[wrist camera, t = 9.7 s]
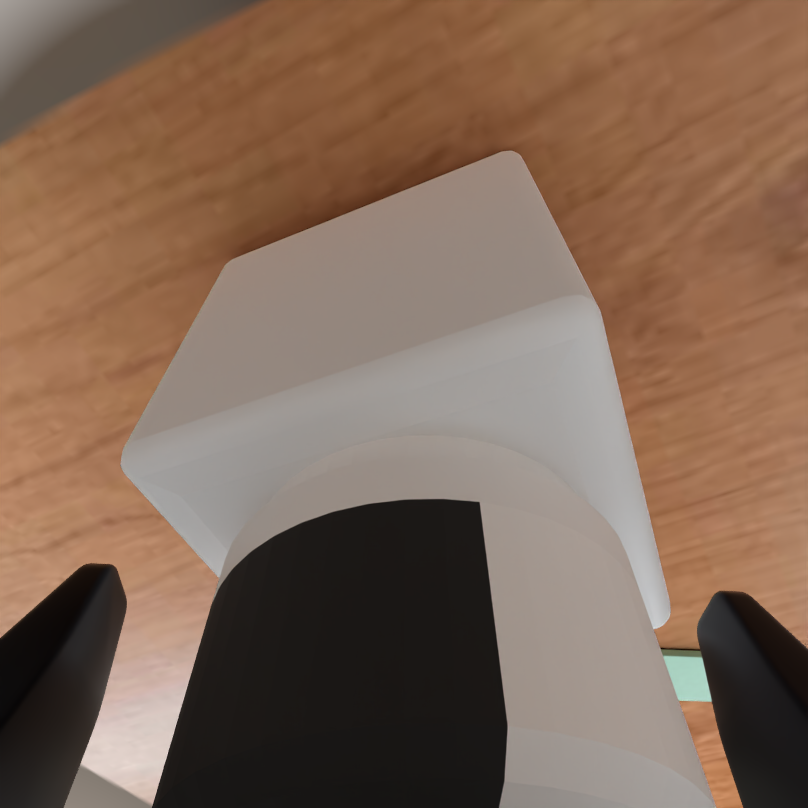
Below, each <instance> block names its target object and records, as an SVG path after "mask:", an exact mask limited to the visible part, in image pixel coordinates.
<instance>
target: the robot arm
mask: <svg viewBox="0 0 808 808" xmlns="http://www.w3.org/2000/svg"><path fill="white" fill-rule="evenodd" d="M126 608H127V600H126V595H125V592H124V589H123V586H122V583H121V580H120V577H119V574H118V571H117V569H116V567H115V566H113V565H111V564H94V563H90V564H86V565H83V566H82V567H80V568H79V569H78V570H77V571H75V572H74V573H73V574H72V575H71V576H70V577H69V578H68V579H66V580H65V581H64V582H63V583H62V584H61V585H60V586H59V587H57V588H56V589H55V590H54V591H53V592H52V593H51V594H49V595H48V596H47V597H46V598H45V599H44V600H43V601H42V602H40V603H39V604H38V605H37V606H36V607H35V608H34V609H33V610H31V611H30V612H29V613H28V614H27V615H26V616H25V617H24V618H22V619H21V620H20V621H19V622H18V623H17V624H16V625H15V626H13V627H12V628H11V629H10V630H9V631H8V632H7V633H5V634H4V635H3V636H2V637H1V638H0V808H64V805H65V802H66V800H67V797H68V795H69V792H70V789H71V787H72V784H73V781H74V779H75V776H76V774H77V771H78V768H79V766H80V763H81V761H82V758H83V755H84V753H85V750H86V748H87V745H88V742H89V740H90V737H91V734H92V732H93V729H94V726H95V723H96V720H97V718H98V715H99V711H100V708H101V704H102V701H103V697H104V694H105V690H106V686H107V682H108V678H109V675H110V671H111V667H112V663H113V659H114V656H115V652H116V648H117V644H118V641H119V637H120V633H121V629H122V625H123V622H124V618H125V614H126ZM697 636H698V641H699V646H700V650H701V655H702V659H703V664H704V668H705V673H706V677H707V682H708V686H709V691H710V695H711V700H712V704H713V709H714V713H715V718H716V722H717V726H718V730H719V734H720V738H721V741H722V744H723V747H724V751H725V754H726V757H727V760H728V763H729V766H730V769H731V772H732V775H733V778H734V781H735V784H736V787H737V790H738V793H739V796H740V799H741V802H742V805H743V808H808V649H807V648H806V647H805V646H804V645H803V644H802V643H801V642H800V641H799V640H798V639H796V638H795V637H794V636H793V635H792V634H791V633H790V632H789V631H788V630H787V629H786V628H785V627H783V626H782V625H781V624H780V623H779V622H778V621H777V620H776V619H775V618H774V617H773V616H772V615H771V614H769V613H768V612H767V611H766V610H765V609H764V608H763V607H762V606H761V605H760V604H759V603H758V602H757V601H755V600H754V599H753V598H752V597H751V596H749V595H748V594H746V593H744V592H736V591H719V592H717V593H716V594H715V595H714V596H713V597H712V599H711V601H710V603H709V604H708V606H707V608H706V609H705V611H704V613H703V615H702V616H701V618H700V620H699V622H698V626H697Z"/></svg>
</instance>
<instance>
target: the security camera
mask: <svg viewBox="0 0 808 808" xmlns="http://www.w3.org/2000/svg"><path fill="white" fill-rule="evenodd" d="M120 466H121V468H122V470H123V472H124V474H125V475H126V476H127V477H128V478H129V479H130V480H131V482H132V483H133V484H134V485H135V486H136V487H137V488H138V489H139V490H140V492H141V493H142V494H143V495H144V496H145V497H146V498H147V499H148V500H149V501H150V503H151V504H152V505H153V506H154V507H155V508H156V509H157V510H158V511H159V512H160V514H161V515H162V516H163V517H164V518H165V519H166V520H167V521H168V522H169V524H170V525H171V526H172V527H173V528H174V529H175V530H176V531H177V532H178V533H179V535H180V536H181V537H182V538H183V539H184V540H185V541H186V542H187V543H188V544H189V546H190V547H191V548H192V549H193V550H194V551H195V552H196V553H197V554H198V556H199V557H200V558H201V559H202V560H203V561H204V562H205V563H206V564H207V565H208V567H209V568H210V569H211V570H212V571H213V572H214V573H215V574H216V575H217V576H218V578H219V581H218V585H217V588H216V592H215V595H214V598H213V602H212V605H211V609H210V612H209V615H208V619H207V622H206V626H205V629H204V633H203V636H202V639H201V643H200V646H199V650H198V653H197V656H196V660H195V663H194V667H193V670H192V673H191V677H190V680H189V684H188V687H187V690H186V694H185V697H184V701H183V704H182V707H181V711H180V714H179V718H178V721H177V725H176V728H175V731H174V735H173V738H172V742H171V745H170V748H169V752H168V755H167V759H166V762H165V765H164V769H163V772H162V776H161V779H160V782H159V786H158V789H157V793H156V796H155V799H154V803H153V806H152V808H716V805H715V802H714V800H713V797H712V794H711V791H710V788H709V785H708V782H707V780H706V777H705V774H704V771H703V768H702V765H701V763H700V760H699V757H698V754H697V751H696V748H695V746H694V743H693V740H692V737H691V734H690V731H689V729H688V726H687V723H686V720H685V717H684V714H683V712H682V709H681V706H680V703H679V700H678V697H677V695H676V692H675V689H674V686H673V683H672V680H671V678H670V675H669V672H668V669H667V666H666V663H665V660H664V658H663V655H662V652H661V649H660V646H659V643H658V641H657V638H656V635H655V632H654V629H656V628H659V627H661V626H663V625H664V624H665V623H666V621H667V620H668V619H669V617H670V613H671V610H670V600H669V596H668V592H667V588H666V584H665V579H664V575H663V571H662V567H661V563H660V558H659V554H658V550H657V546H656V542H655V537H654V533H653V529H652V525H651V521H650V516H649V512H648V508H647V504H646V500H645V495H644V491H643V487H642V483H641V479H640V474H639V470H638V466H637V462H636V458H635V454H634V449H633V445H632V441H631V437H630V433H629V428H628V424H627V420H626V416H625V412H624V407H623V403H622V399H621V395H620V391H619V386H618V382H617V378H616V374H615V370H614V365H613V361H612V357H611V353H610V349H609V344H608V340H607V336H606V332H605V328H604V323H603V319H602V315H601V311H600V309H599V307H598V305H597V303H596V301H595V299H594V297H593V295H592V293H591V292H590V290H589V288H588V286H587V284H586V282H585V280H584V278H583V276H582V274H581V272H580V270H579V268H578V266H577V264H576V262H575V260H574V258H573V256H572V254H571V252H570V250H569V248H568V246H567V244H566V242H565V240H564V238H563V237H562V235H561V233H560V231H559V229H558V227H557V225H556V223H555V221H554V219H553V217H552V215H551V213H550V211H549V209H548V207H547V205H546V203H545V201H544V199H543V197H542V195H541V193H540V191H539V189H538V187H537V185H536V183H535V182H534V180H533V178H532V176H531V174H530V172H529V170H528V168H527V166H526V164H525V162H524V160H523V159H522V157H521V155H520V154H518V153H516V152H514V151H512V150H510V151H502V152H499V153H497V154H494V155H492V156H489V157H487V158H484V159H482V160H479V161H477V162H474V163H472V164H469V165H466V166H464V167H461V168H459V169H456V170H454V171H451V172H449V173H446V174H444V175H441V176H439V177H436V178H434V179H431V180H429V181H426V182H424V183H421V184H419V185H416V186H414V187H411V188H409V189H406V190H404V191H401V192H399V193H396V194H394V195H391V196H389V197H386V198H384V199H381V200H379V201H376V202H374V203H371V204H369V205H366V206H364V207H361V208H359V209H356V210H354V211H351V212H349V213H346V214H344V215H341V216H339V217H336V218H334V219H331V220H329V221H326V222H324V223H321V224H319V225H316V226H314V227H311V228H309V229H306V230H304V231H301V232H299V233H296V234H294V235H291V236H289V237H286V238H284V239H281V240H279V241H276V242H274V243H271V244H269V245H266V246H264V247H261V248H259V249H256V250H254V251H251V252H249V253H246V254H244V255H241V256H239V257H236V258H234V259H232V260H230V261H229V262H228V263H227V264H225V266H224V268H223V269H222V271H221V273H220V275H219V277H218V278H217V280H216V282H215V284H214V286H213V287H212V289H211V291H210V293H209V295H208V296H207V298H206V300H205V302H204V304H203V306H202V307H201V309H200V311H199V313H198V315H197V316H196V318H195V320H194V322H193V324H192V325H191V327H190V329H189V331H188V333H187V334H186V336H185V338H184V340H183V342H182V343H181V345H180V347H179V349H178V351H177V352H176V354H175V356H174V358H173V360H172V361H171V363H170V365H169V367H168V369H167V370H166V372H165V374H164V376H163V378H162V379H161V381H160V383H159V385H158V387H157V388H156V390H155V392H154V394H153V396H152V397H151V399H150V401H149V403H148V405H147V406H146V408H145V410H144V412H143V414H142V416H141V417H140V419H139V421H138V423H137V425H136V426H135V428H134V430H133V432H132V434H131V435H130V437H129V439H128V441H127V443H126V444H125V446H124V448H123V453H122V458H121V465H120Z"/></svg>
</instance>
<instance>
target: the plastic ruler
mask: <svg viewBox="0 0 808 808" xmlns="http://www.w3.org/2000/svg"><path fill="white" fill-rule="evenodd" d="M661 652H662V655H663V658H664V660H665V663H666V666H667V669H668V672H669V675H670V678H671V680H672V683H673V686H674V689H675V692H676V695H677V697H678V700H681V701H707V702H712V700H711V695H710V691H709V686H708V682H707V677H706V673H705V668H704V664H703V659H702V655H701V651H692V650H668V649H661Z"/></svg>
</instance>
